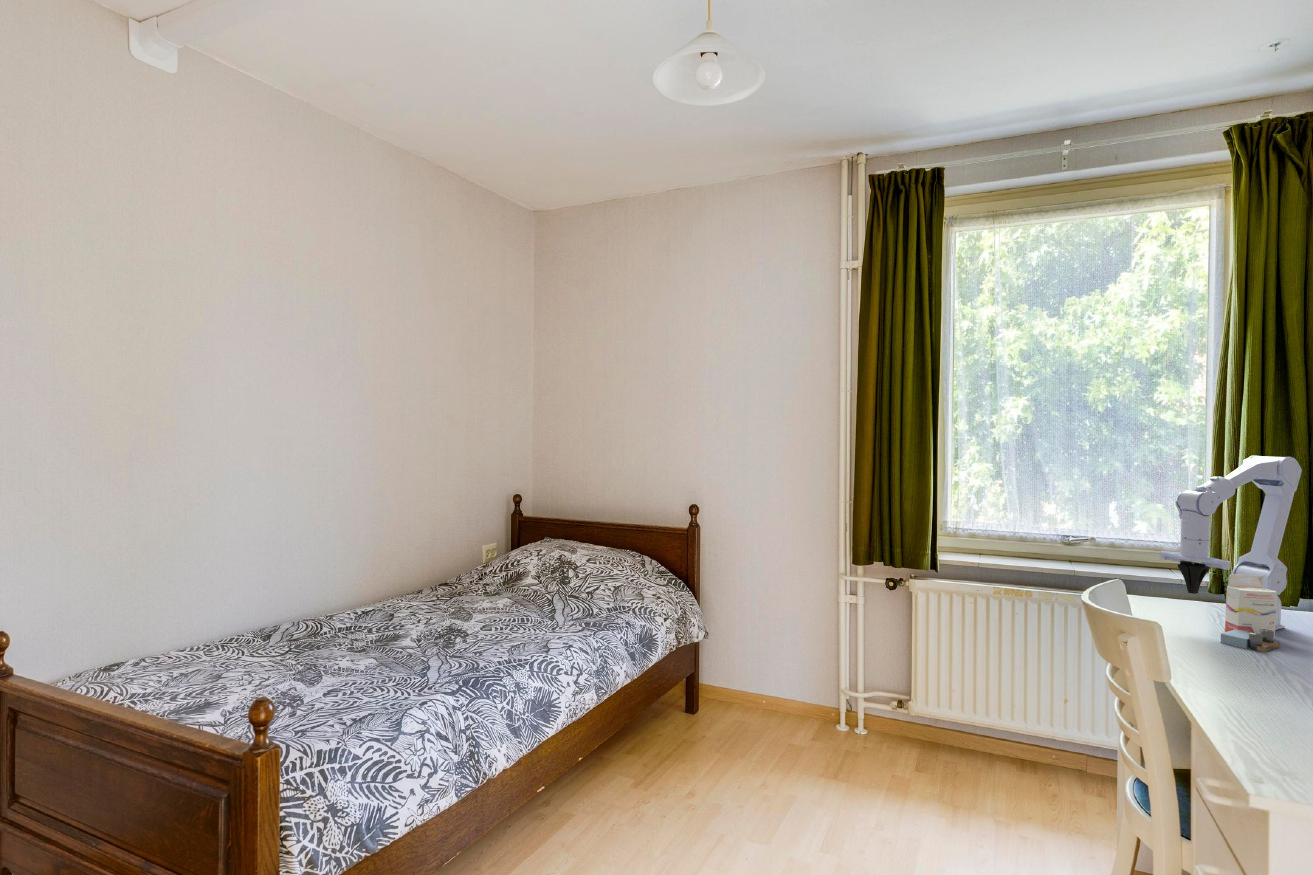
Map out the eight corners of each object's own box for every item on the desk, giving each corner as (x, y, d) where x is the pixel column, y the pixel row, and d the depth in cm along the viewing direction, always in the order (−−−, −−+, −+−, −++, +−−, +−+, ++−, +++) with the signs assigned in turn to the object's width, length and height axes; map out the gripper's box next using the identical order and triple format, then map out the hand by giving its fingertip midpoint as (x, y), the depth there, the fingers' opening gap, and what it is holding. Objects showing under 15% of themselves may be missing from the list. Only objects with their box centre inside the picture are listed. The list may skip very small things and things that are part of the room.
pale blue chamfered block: (1235, 639, 172) (1235, 629, 172) (1261, 645, 168) (1261, 634, 168) (1220, 643, 168) (1220, 633, 168) (1246, 649, 164) (1246, 639, 164)
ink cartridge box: (1238, 637, 172) (1240, 577, 172) (1224, 632, 177) (1226, 573, 177) (1276, 639, 171) (1278, 579, 171) (1261, 633, 176) (1263, 574, 176)
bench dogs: (1262, 643, 168) (1263, 628, 168) (1279, 647, 165) (1280, 632, 165) (1246, 648, 164) (1247, 633, 164) (1263, 652, 161) (1264, 636, 161)
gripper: (1154, 535, 182) (1152, 588, 182) (1221, 544, 169) (1219, 601, 169) (1168, 533, 185) (1166, 585, 186) (1235, 542, 173) (1233, 598, 173)
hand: (1192, 592), depth 178 cm, fingers closed
